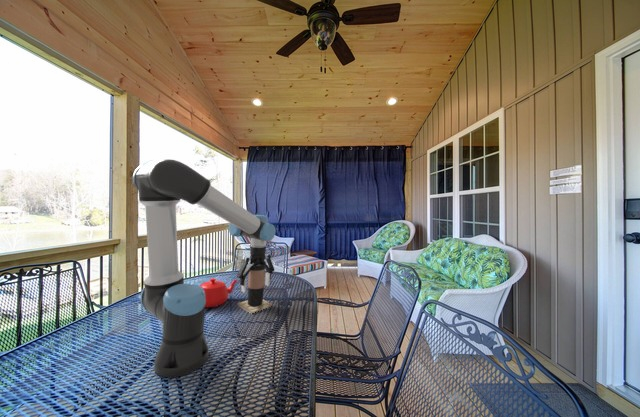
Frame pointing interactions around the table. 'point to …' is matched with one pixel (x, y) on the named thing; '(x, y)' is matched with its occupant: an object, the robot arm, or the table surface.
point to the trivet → (254, 309)
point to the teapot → (216, 292)
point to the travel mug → (256, 285)
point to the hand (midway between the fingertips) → (255, 288)
